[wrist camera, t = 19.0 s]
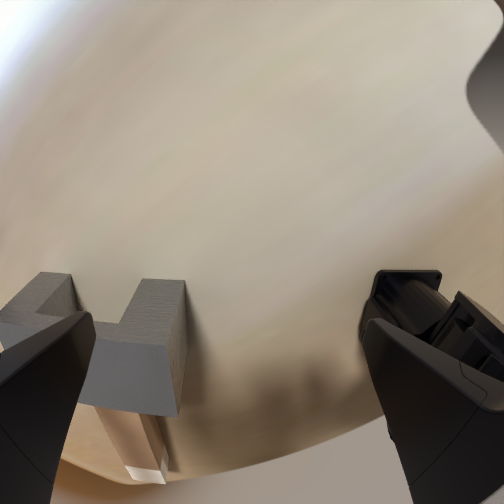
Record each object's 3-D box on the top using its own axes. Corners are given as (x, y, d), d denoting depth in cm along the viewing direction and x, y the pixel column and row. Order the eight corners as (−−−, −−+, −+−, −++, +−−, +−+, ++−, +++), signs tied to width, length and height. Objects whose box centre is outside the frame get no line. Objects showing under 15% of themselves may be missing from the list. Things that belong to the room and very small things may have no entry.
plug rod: (145, 372, 23) (136, 406, 20) (169, 458, 29) (166, 484, 26) (104, 367, 23) (90, 398, 19) (138, 454, 29) (133, 479, 25)
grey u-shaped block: (184, 280, 20) (166, 345, 14) (188, 347, 23) (178, 417, 16) (40, 272, 19) (-9, 319, 13) (57, 333, 22) (23, 387, 15)
